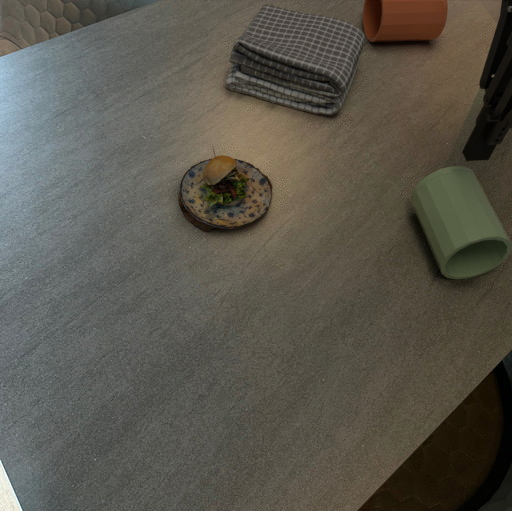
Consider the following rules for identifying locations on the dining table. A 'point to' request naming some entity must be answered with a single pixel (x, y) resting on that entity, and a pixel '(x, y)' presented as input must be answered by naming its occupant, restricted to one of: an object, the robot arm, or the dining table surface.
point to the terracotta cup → (404, 19)
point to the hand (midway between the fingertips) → (475, 155)
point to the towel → (296, 59)
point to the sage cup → (460, 223)
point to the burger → (224, 193)
